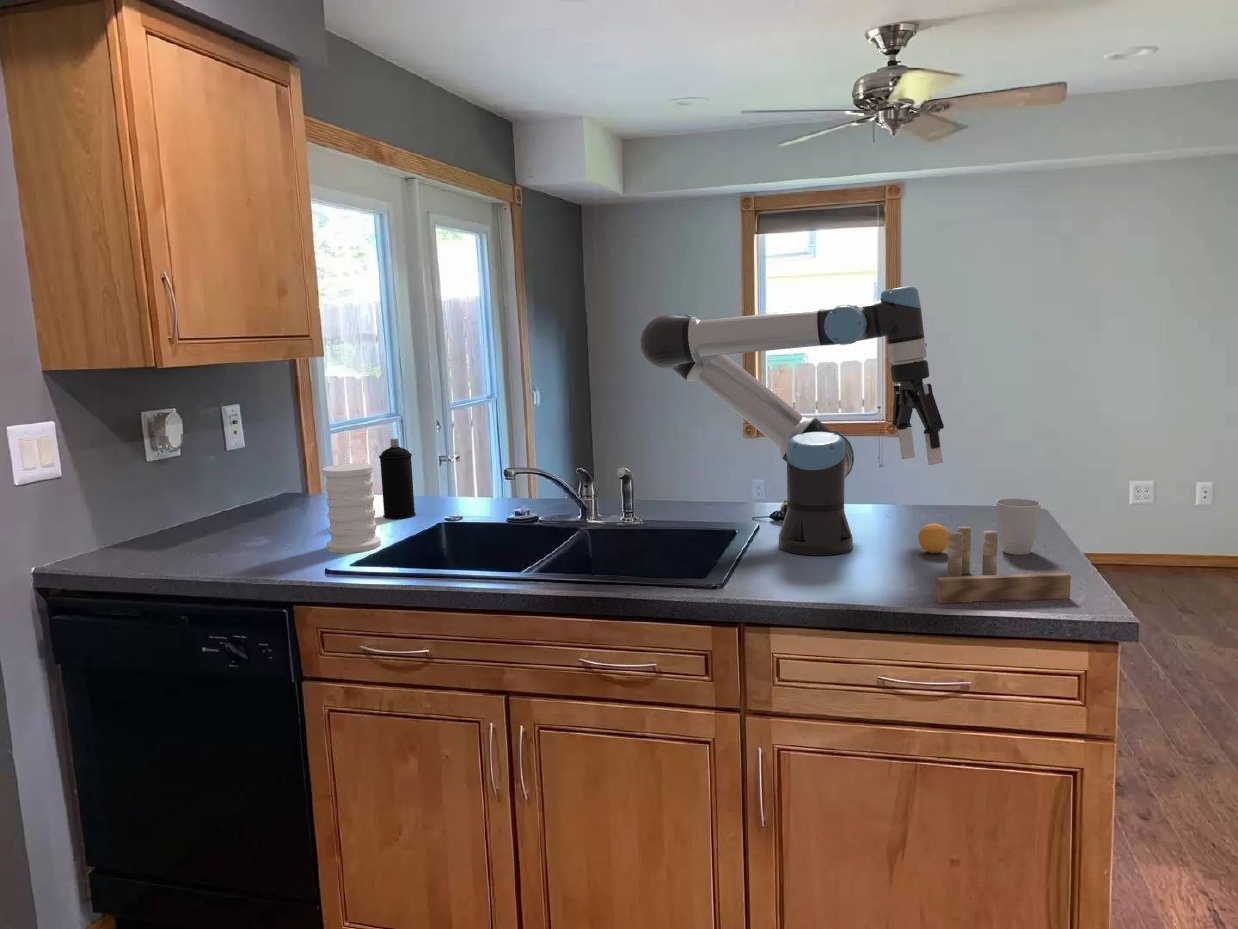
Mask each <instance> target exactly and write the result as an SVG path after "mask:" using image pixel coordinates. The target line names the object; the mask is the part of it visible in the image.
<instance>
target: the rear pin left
mask: <svg viewBox="0 0 1238 929" xmlns="http://www.w3.org/2000/svg"><path fill="white" fill-rule="evenodd" d="M982 541H983V543H982V566H981V568H982V569H981V572H982V573H981V576H987V575H997V570H998V569H997V568H998V564H997V563H998V546H999V544H998V543H999V534H998V531H996V530H984V531H983V540H982Z"/></svg>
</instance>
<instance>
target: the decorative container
mask: <svg viewBox="0 0 1238 929" xmlns="http://www.w3.org/2000/svg"><path fill="white" fill-rule="evenodd" d="M374 469H375V468H374V464H373V463H362V462H357V463H356V462H355V463H351V462H350V463H341V464H334V465H328V466H325V467H323V468H321V471H322V472H321V474H322V476H324V477H325V478H326V479H325V480H326V483H325V485H324V486H325V491H327V492H326V493H327V497H326V500H325V501H326V505H327V506H328V512H327V518H328V520H329V527H328V532H329V535H330V539H331V540H329V541H327V542H326V550H327V551H328V552H330V553H334V554H356V553H363V552H368V551H372V550H375V549H378V548H380V546H381V545H382V544H381V537H379V536H377V535H376V530H377V524H376V522H375V516H376V510H375V509H376V508H375V507H374V502H375V501H374V500H375V496H374V493H373V487H374V482H373V480H372V473H374V472H375V471H374Z"/></svg>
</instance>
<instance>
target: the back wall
mask: <svg viewBox="0 0 1238 929" xmlns="http://www.w3.org/2000/svg"><path fill="white" fill-rule="evenodd" d="M1071 578H1072V575H1071V574H1070V573H1069V572H1047V573H1046V572H1043V573H1042V572H1041V573H1040V572H1039V573H1019V574H996V575H987V576H982V575H968V576H962V575H961V577H947V576H943V577H941V576H940V577H939V576H938V577H936V580H935V581H936V583H935V584H936V586H935V588H936V590H935V601H936V602H937V603H938V604H955V603H956V604H957V603H958V602H959V603H960V602H961V603H981V602H982V601H986V602H1004V601H1005V602H1009V601H1028V600H1029V601H1031V600H1032V601H1033V600H1034V601H1035V600H1057V599H1058V600H1060V599H1063V600H1064V599H1070V597H1071V581H1072V580H1071ZM973 601H975V602H973ZM976 601H978V602H976ZM979 601H981V602H979ZM961 603H960V604H961Z"/></svg>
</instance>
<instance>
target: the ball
mask: <svg viewBox="0 0 1238 929" xmlns="http://www.w3.org/2000/svg"><path fill="white" fill-rule="evenodd" d="M948 533H949V531H948V529H947V528H946V527H945V526H944V525H942V524H939V523H935V522H933V523H928V524H925V525H924V526H923V527H921V529H920V531H919V532H918V536H917V538H918V543H919V546H920V547H921V548H922V549H923V550H924V551H926V552H927V553H930V554H939V553H941V552H943V551H945V550H946V549H948Z"/></svg>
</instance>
